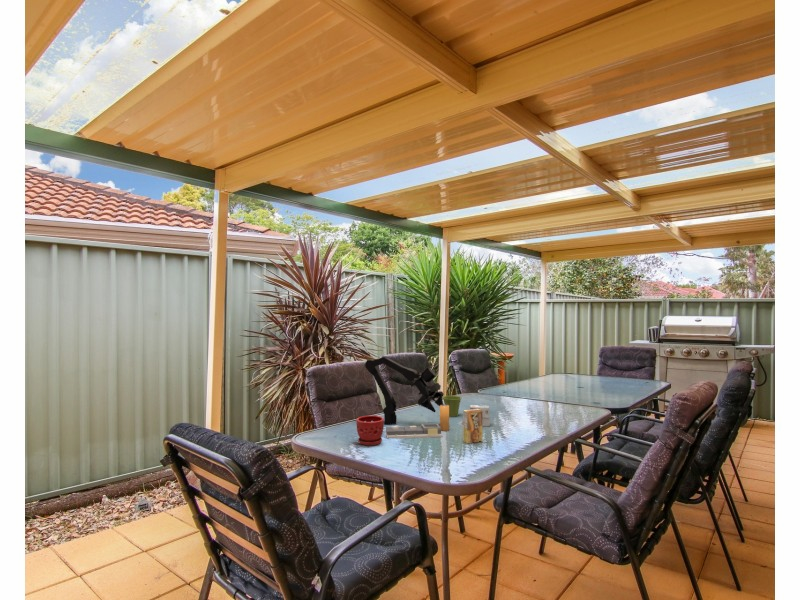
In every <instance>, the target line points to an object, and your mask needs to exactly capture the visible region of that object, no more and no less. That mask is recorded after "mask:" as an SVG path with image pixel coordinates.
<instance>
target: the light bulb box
mask: <svg viewBox="0 0 800 600" xmlns="http://www.w3.org/2000/svg"><path fill="white" fill-rule="evenodd" d="M471 409H480V410H482V427H490V425H491V424H490V423H491V422H490V406H489V404H488V405H485V404H484V405H483V404H482V405H481V404H478V405H477V404H476V405H475V404H470V405H469V410H471Z"/></svg>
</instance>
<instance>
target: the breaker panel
mask: <svg viewBox="0 0 800 600" xmlns="http://www.w3.org/2000/svg"><path fill="white" fill-rule="evenodd" d="M384 433H386V434H385V436H387V437H386V439H387V438H396V439H419V438H420V439H422V438H423V439H424V438H426V439H427V438H428V439H429V438H442V437H443V434H442V431H441V427H440V424H438V423H421V424H420V426H419V425H418V426H417V425H410V426H395V425H394V426H388V427H385V431H384Z"/></svg>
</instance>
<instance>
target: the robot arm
mask: <svg viewBox="0 0 800 600" xmlns="http://www.w3.org/2000/svg"><path fill="white" fill-rule="evenodd" d="M380 365H385V366H387V367H389V368H391V369H393V370H394V371H396V372H398V373H400V374H401V375H402V377H404V378H405V379H407V380H408V381H409V382H411V385H410V388H416V389H417V390H418V392H419V393H418V395H421V396H420V397H419V398H418V399H417V400H416V401H417V405H418V406H419V407H423V408H426V409H427V410H429V411H431V412H432V413H435V412H436V409H435V407H434V405H433V404H432V402H431V400H432V401H433V402H434V404H436V405H437V406H438V407H440V405H445V404H444V400H443V398H442V397H444V396H445V393H444V392H443V391H442V390H441V387H442V386H441V384H440V383H439V382H436V383H434V384H433V385H428V384H427V383H431V382H432V380H434V379H435V378H436V377H437V373H436V372H435V371H434V370H432V369H431V368H429V367H426V368H425V370H424V371H423V372H419V371H417V370H416V369H415V368H410V367H407V366H404V365H402V364H401V363H398V361H397V362H396V361H395V360H393V359H391V358H389V357H388V356H384V355H383V356H381V357H380V358H376V359H375V358H371V359H367V360H366V361H365V364H364V367H365V369H366V370H367V372H368V373H369V374H371V375H372V377H373V378H374V380H375V382H376V384H377V385H378V388H379V389H380V392H381V393H382V396H383V397H384V403H385V407H384V408H383V409H382V413H383V419H384V425H397V422H398V421H397V417H398V416H397V414H396V411H397V410H398V408H399V407H400V401H401V400H400V399H399V398H398V396H397V394H395V395H394V394H392V391H391V390H390V388H389V386H388V385H387V383H386V381H385V378H384V377H383V375H382V373H381V370H380Z"/></svg>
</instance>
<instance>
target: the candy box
mask: <svg viewBox="0 0 800 600" xmlns="http://www.w3.org/2000/svg"><path fill="white" fill-rule="evenodd" d="M462 413H463V414H462V416H463V417H462V422H463V423H462V425H463V426H462V427H463V428H462V434H463V438H462V441H463V442H464V443H466V444H472V442H474V443H480V442H479V441H481V442H483V426H482V410H480V409H471V410H470V409H465V410H463V411H462Z"/></svg>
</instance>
